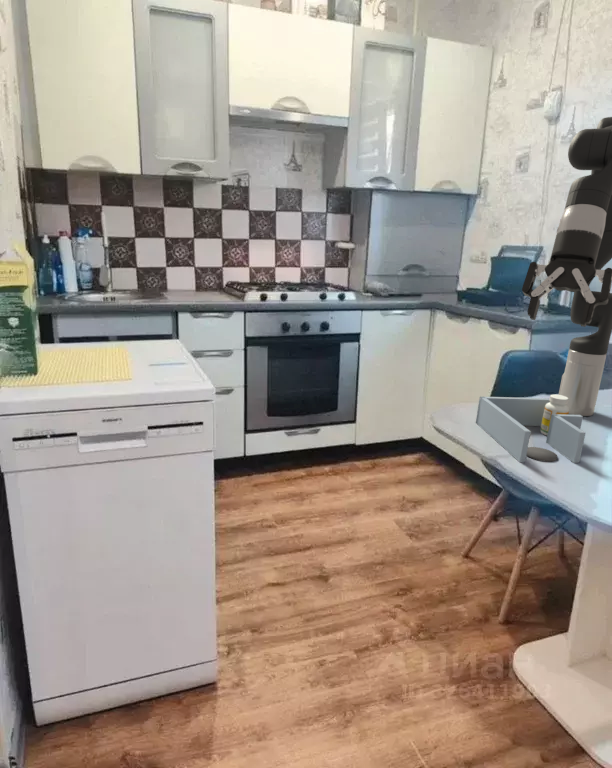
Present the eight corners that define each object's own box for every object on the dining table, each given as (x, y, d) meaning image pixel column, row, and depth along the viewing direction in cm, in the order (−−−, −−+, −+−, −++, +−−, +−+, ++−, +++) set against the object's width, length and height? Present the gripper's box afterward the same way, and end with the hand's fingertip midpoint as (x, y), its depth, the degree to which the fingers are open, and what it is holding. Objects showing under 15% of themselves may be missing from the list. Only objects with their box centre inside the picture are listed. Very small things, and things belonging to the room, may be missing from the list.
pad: (517, 448, 122) (517, 446, 122) (546, 448, 123) (547, 447, 123) (532, 461, 116) (533, 459, 115) (563, 461, 116) (564, 460, 116)
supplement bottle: (537, 433, 132) (544, 396, 129) (542, 428, 136) (549, 392, 134) (561, 439, 129) (568, 401, 126) (565, 433, 133) (573, 396, 131)
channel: (475, 422, 137) (479, 396, 135) (547, 424, 139) (552, 398, 137) (519, 462, 115) (525, 431, 113) (604, 463, 117) (611, 433, 115)
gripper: (623, 246, 97) (601, 333, 97) (540, 241, 105) (519, 321, 105) (623, 230, 91) (599, 322, 91) (534, 225, 99) (512, 311, 98)
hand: (556, 322), depth 98 cm, fingers open, 8 cm apart
